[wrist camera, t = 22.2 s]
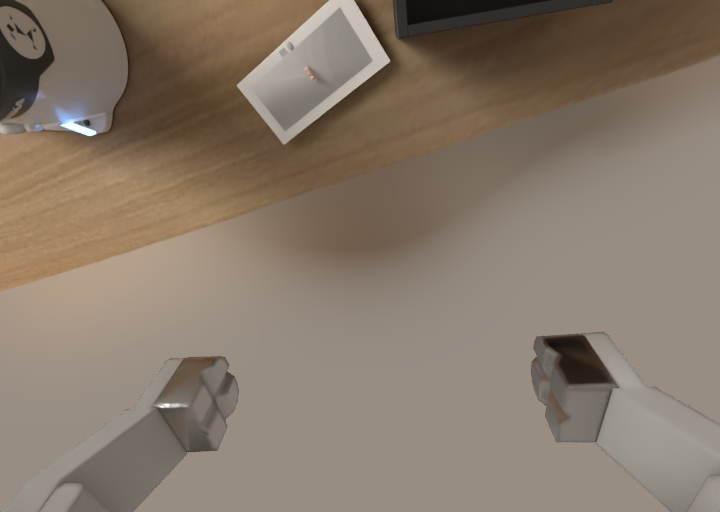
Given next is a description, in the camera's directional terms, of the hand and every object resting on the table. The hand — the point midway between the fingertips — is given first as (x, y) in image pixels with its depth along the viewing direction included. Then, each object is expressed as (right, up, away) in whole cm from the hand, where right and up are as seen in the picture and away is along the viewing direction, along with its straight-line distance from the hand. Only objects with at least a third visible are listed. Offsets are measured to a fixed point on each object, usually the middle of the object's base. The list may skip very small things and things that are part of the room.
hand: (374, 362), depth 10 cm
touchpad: (-5, +23, +30) cm, 38 cm away
